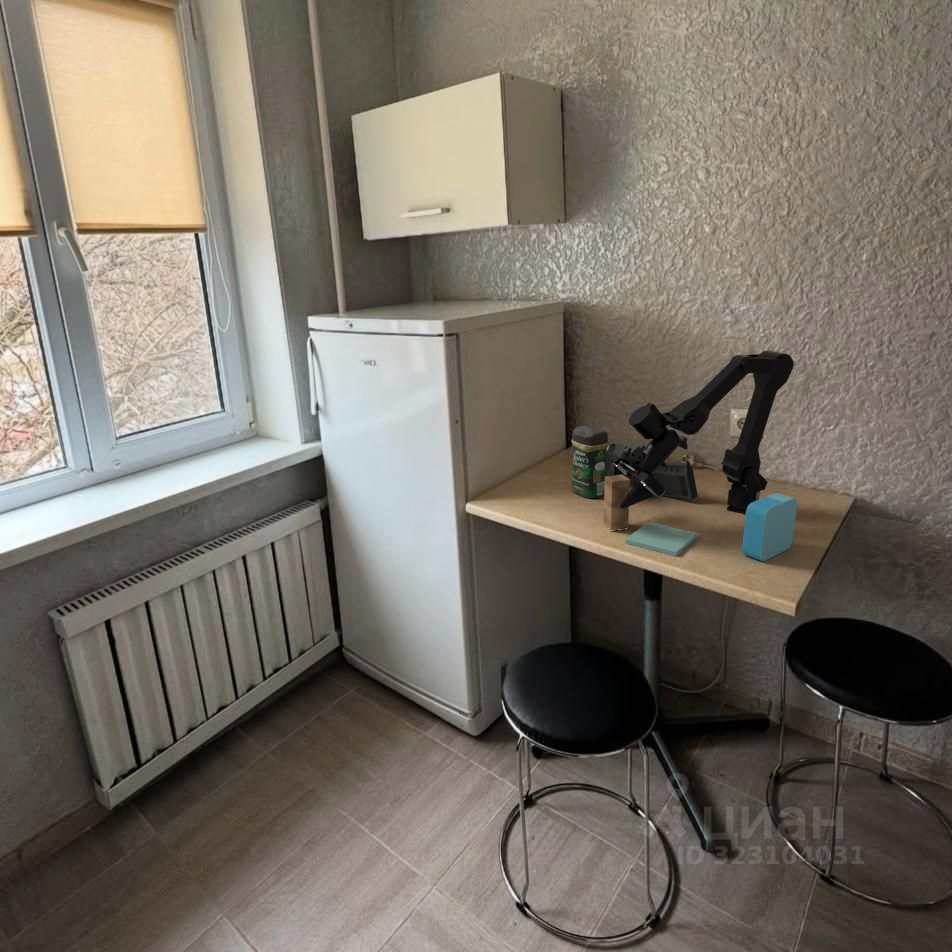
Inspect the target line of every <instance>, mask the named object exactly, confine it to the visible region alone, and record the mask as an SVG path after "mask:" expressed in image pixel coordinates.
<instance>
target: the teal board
mask: <svg viewBox="0 0 952 952" xmlns="http://www.w3.org/2000/svg"><path fill="white" fill-rule="evenodd" d="M697 538H698V533H697V532H693V531H688V530H684V529H680V528H676V527H672V526H667V525H664V524H663V525H662V524H659V523H654V522H649V521H648V522H646V523H645V524H643V525H642V526H641V527H639V528H638V529H637V530H635V531H634V532H632V534H630V535H628V537H626V538H625V539H624V541H625V542H624V544H626V543H628V544H627V545H630V544H631V546H634V545H635V547H638V546H639V548H641V549H642V548H643V549H645V548H647V549H646V550H649V549H650V550H651V551H653V550H654V552H657V551H659V552H658V553H661V552H662V554H665V555H669V556H672V555H673V556H672V557H677V556H678V555H679V554H681V552H683V551H682V550H683V549H684V548H685V549H686V548H688V546H689V545H690V544H691V543H692V541H693V542H694V541H695V540H696V539H697ZM685 549H684V550H685ZM650 550H649V551H650Z"/></svg>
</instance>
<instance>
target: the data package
mask: <svg viewBox="0 0 952 952" xmlns="http://www.w3.org/2000/svg"><path fill="white" fill-rule="evenodd" d="M797 506H798V500H797V498H795V497H792V496H789V495H785V494H782V493H779V492H775V493H772V494H770V495H767V496H764V497H763V498H759V500H757V501H755V502H752V503H750V504H749V505H748V507H747V510H746V514H745V519H744V529H743V539H742V547H741V552H742V553H743V555H744V556H746V557H750V558H753V559H755V560H757V561H760V562H765V561H768V560H769V559H771V558H773V557H776V556H777V555H779V554H781V553H783V552H785V551H787V550H789V549H790V547H791V546H792V544H793V539H794V532H795V524H796V515H797V508H798V507H797Z"/></svg>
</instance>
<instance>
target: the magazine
mask: <svg viewBox="0 0 952 952" xmlns="http://www.w3.org/2000/svg"><path fill="white" fill-rule="evenodd" d="M616 446H617V444H616V443H615V442H612V443H610V444H608V447H607V451H606V476H610V475H611V465H610V462H611V461H610V460H609V459H610V458H611V457H612V455H613V452H614V450H615V448H616ZM611 463H612V462H611ZM665 463H666V464H667V465H666V466H665V467H664V468H663V467H661V466H660V467H659V468H658V469H657V470H656V472H655V473H654V475H655V476H656V477H657V478H658V479H659V480H660V481H661V482H662V483H663V484H664V485H665V486H666V491H665V493H664V494H663V495H662V497H670V498H671V497H672V498H681V499H688V500H695V499H697V497H699V493H698V489H697V484H696V479H695V474H694V469H693V467H692V465H691V462H690V461H686V462H671V461H667V460H666V461H665ZM612 464H613V463H612ZM626 476H627V475H626ZM627 477H628V476H627ZM628 478H629V479H630V488H631V487H633V486H634V478H635V479H637V480H638V481H640V482H641V480H639V479H638V478H636V477H635V476H631V477H628Z"/></svg>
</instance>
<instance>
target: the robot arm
mask: <svg viewBox="0 0 952 952" xmlns="http://www.w3.org/2000/svg"><path fill="white" fill-rule="evenodd" d="M794 362H795V361H794V360H793V357H792V356H791V355H790V354H788V353H784V352H780V351H779V352H778V351H774V350H769V349H768V350H767V349H766V350H764V351H762V352H760V353H751V354H749V353H748V354H736V355H734V356H733V357H731V358H730V360H729V363H727V364H726V365H725V366H724V367H723V368H722V369H721V370H720V371H719V372H718V373H717V374H716V375H715V376H714V377H713V378H712V379H711V380H710V381H709V382H708V383H707V384H706V385H704V387H703V388H702V389H701V390H700V391H699V392H698V393H697V394H695V395H694V396H693V397H689V398H687V399H685V400H683V401H682V402H680V403H679V404H678V405H676V406H674V407H673V409H671V411H669V410H668V411H666V412H663V413H662V412H661V411H660V410H659V409H658V407H657V406H656V405H655V404H654V403H652V402H647V404H646V405H643V406H640V407H638V408H637V409H636V410H635V409H634V411H632V413H631V414H630V416H629V419H628V423H629V425H630V426H631V427H633V429H634V430H636V432H637V433H638V434H639V435H640V436H641V437H642V438H643V439H644V440H649V442H648V443H647V444H646V445H644V444H640V445H639V446H638V445H636V444H634V445H632V446H631V445H629V444H627V443H625V442H622V441H618V442H617V444H616V448H615V450H614V452H613V455H612V457H611V458H610V459H609V460H610V461H611V462H612V463H613V464H612V463H611V462H610V465H611V475H610V476H615V475H624V476H625V477H627V476H628V477H631V476H635V477H636V478H638V479H639V480H641V482H640V481H638V480H637V479H635V478H634V486H633V488H630V492H629V493H628V495H627V496H626V497H625V498H624V500H623V501H622V503H621V504H620V507H621V508H622V509H624V508H626V507H629V508H630V507H631V506H633V505H635V504H637V503H640V502H644V501H647V500H649V499H652V498H653V499H655V498H657V497H658V498H661V497H663V494H664V493H665V491H666V486H665V485H664V484H663V483H662V482H661V481H660V480H659V479H658V478H657V477H656V476H655V475H654V473H655V472H656V470H657V469H658V468H659V467H660V466H661V467H663V468H664V467H665V466H666V465H667V464H666V463H665V461H666V462H667V459H669V458H670V456H671V455H672V454H673V453H674V452H675V451H676V450H677V448H681V449H682V450H686V451H687V450H688V438H687V437H685V436H684V435H680V434H679V433H678V432H680V433H683V434H685V435H687V436H689V435H692V436H693V435H696V434H697V433H698V432H699V431H700V430H701V429H702V428H703V427H704V425H705V424H706V423H707V422H708V420H709V417H710V413H711V412H712V410H713V409H714V407H715V406H717V405H718V404H719V402H721V401H722V400H723V399H724V398H725V397H726V396H727V395H728V394H729V393H730V392H731V391H732V390H733V389H734V388H735V387H736V386H737V385H738V384H739V383H740V382H741V381H742V380H743V379H744V378H745V377H746V376H747V375H748V374H752V376H753V382H754V390H753V393H752V396H751V398H750V402H749V405H748V409H747V412H746V416H745V418H744V422H743V426H742V428H741V432H740V434H739V438H738V441H737V444H736V445H735V446H734V447H733V448H731V449H730V448H726V450H725V451H724V457H723V459H722V461H721V463H720V464H721V465H722V468H721V469H722V472H723V474H724V475H725V477H726V480H727V482H729V483H731V486H730V488H729V489H728V491H727V492H728V493H727V502H726V504H727V507H726V510H727V511H732V512H736V513H741V514H745V515H746V510H747V507H748V505H749V504H750V503H752V502H755V501H757V500H759V499H760V496H761V491H765V490H766V487H767V485H768V483H769V482H768V481H767V480H766V478H765V477H764V476H762V474H761V473H760V468H761V463H762V461H761V457H760V453H759V450H760V445H761V442H762V439H763V437H764V432H765V431H766V430H765V429H766V426H767V424H768V420H769V417H770V414H771V411H772V408H773V405H774V402H775V399H776V396H777V393H778V392H779V390H780V389H782V387H783V386H784V385H785V384H786V383H787V382H788V381H789V379H790V376H791V374H792V372H793V369H794V366H795V363H794ZM667 426H668V427H670V428H672V429H669V428H668V427H667ZM677 431H678V432H677ZM626 475H627V476H626ZM628 477H627V478H628ZM628 479H629V478H628ZM604 489H605V488H604ZM603 494H604V491H603Z"/></svg>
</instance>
